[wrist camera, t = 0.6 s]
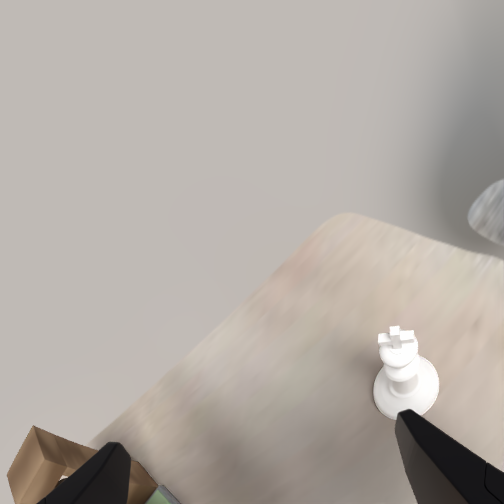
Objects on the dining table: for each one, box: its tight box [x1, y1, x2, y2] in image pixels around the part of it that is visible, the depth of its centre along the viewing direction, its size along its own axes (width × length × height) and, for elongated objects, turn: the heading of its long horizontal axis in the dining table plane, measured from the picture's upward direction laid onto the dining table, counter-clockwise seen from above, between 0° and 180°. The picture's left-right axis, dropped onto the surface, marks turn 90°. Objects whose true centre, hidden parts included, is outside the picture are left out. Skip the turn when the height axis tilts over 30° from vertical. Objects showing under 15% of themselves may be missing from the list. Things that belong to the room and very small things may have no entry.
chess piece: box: [373, 326, 439, 420], centre depth 15 cm, size 5×5×10 cm
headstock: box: [7, 426, 158, 504], centre depth 18 cm, size 4×7×12 cm, turn 142°
